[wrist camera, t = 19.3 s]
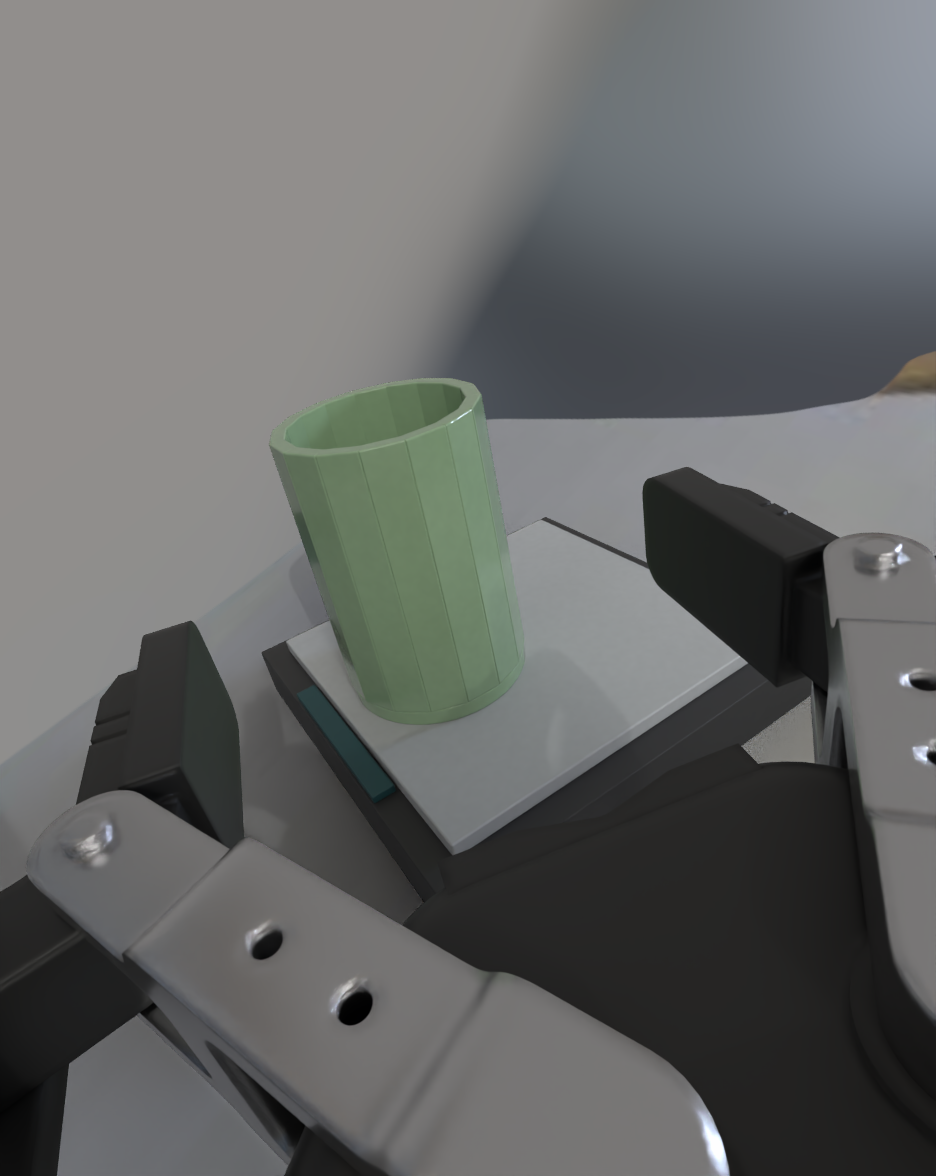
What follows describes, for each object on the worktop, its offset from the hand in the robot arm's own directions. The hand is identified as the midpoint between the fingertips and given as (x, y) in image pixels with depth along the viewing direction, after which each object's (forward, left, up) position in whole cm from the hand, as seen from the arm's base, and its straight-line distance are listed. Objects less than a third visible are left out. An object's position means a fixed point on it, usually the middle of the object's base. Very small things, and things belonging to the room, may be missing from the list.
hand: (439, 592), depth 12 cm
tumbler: (+4, +11, -10) cm, 15 cm away
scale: (+7, +10, -13) cm, 18 cm away
